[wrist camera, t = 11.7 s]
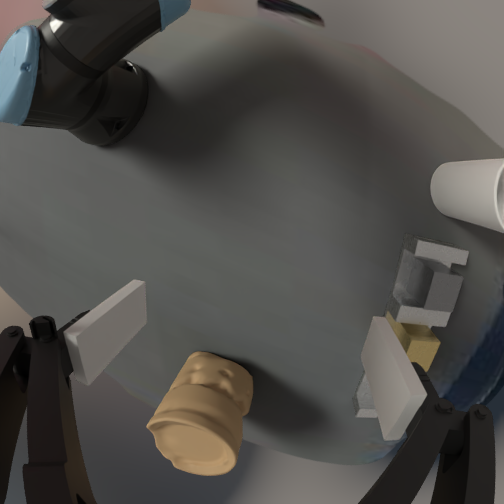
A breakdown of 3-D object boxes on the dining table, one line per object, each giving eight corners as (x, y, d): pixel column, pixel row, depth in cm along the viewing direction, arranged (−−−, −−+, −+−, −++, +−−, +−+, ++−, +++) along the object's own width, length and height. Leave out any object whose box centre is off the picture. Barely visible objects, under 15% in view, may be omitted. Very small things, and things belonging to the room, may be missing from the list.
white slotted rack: (404, 233, 37) (427, 245, 29) (452, 243, 36) (480, 256, 28) (352, 398, 44) (358, 429, 37) (395, 399, 43) (405, 428, 36)
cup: (429, 215, 36) (492, 235, 20) (430, 159, 34) (494, 151, 18) (470, 218, 35) (536, 239, 19) (472, 166, 33) (539, 165, 17)
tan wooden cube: (396, 317, 39) (411, 340, 32) (423, 320, 38) (440, 342, 32) (387, 345, 40) (398, 370, 33) (412, 347, 40) (427, 371, 33)
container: (203, 403, 49) (172, 473, 32) (175, 351, 47) (127, 418, 30) (265, 395, 47) (250, 475, 29) (241, 338, 44) (211, 417, 27)
